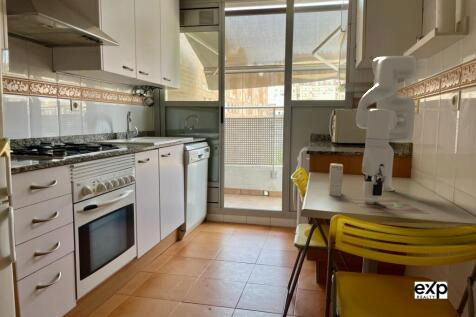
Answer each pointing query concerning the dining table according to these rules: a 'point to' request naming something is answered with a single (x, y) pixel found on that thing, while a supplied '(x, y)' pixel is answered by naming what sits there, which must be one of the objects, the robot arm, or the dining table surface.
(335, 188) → the supplement box
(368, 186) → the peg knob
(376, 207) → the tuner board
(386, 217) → the dining table surface
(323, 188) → the dining table surface
